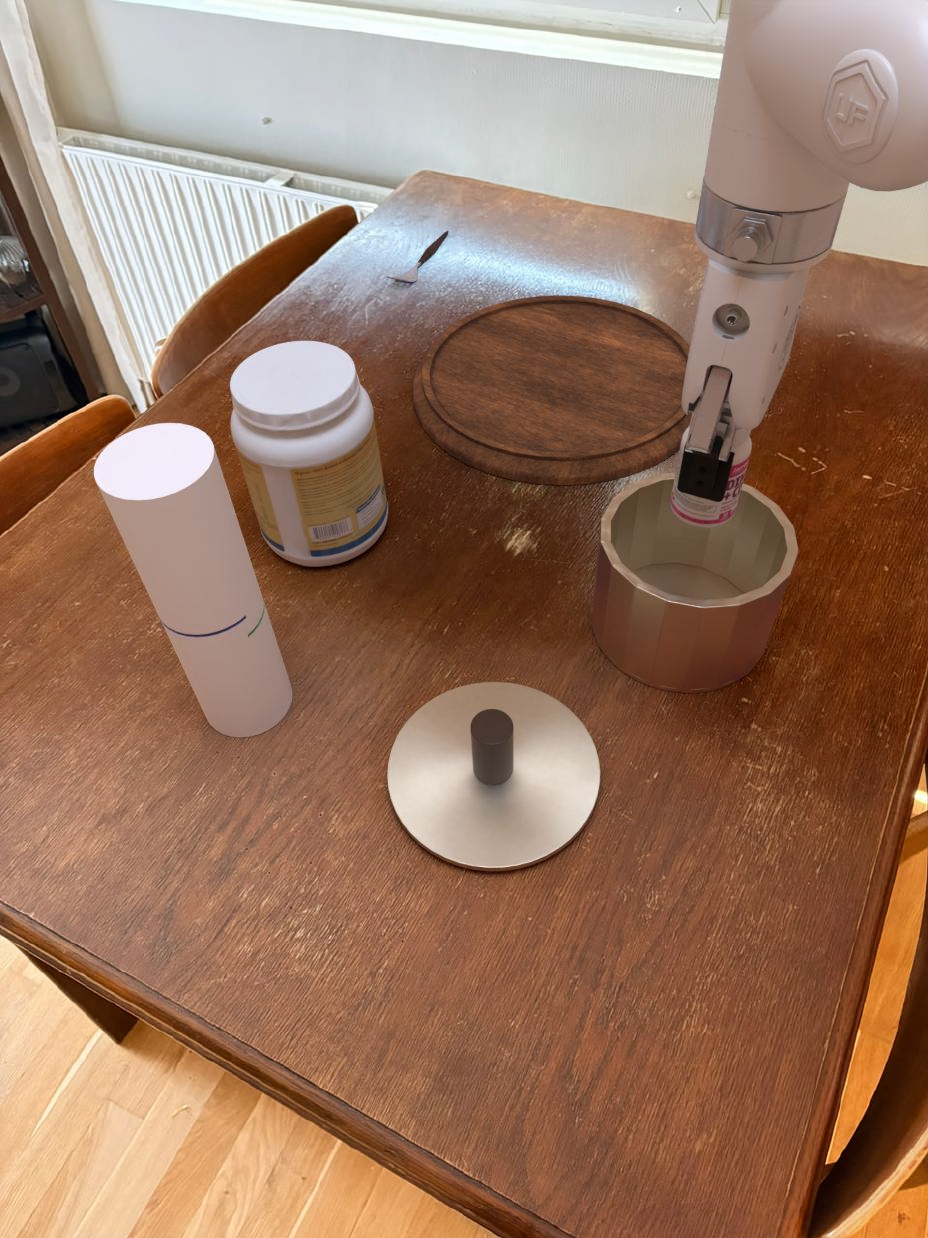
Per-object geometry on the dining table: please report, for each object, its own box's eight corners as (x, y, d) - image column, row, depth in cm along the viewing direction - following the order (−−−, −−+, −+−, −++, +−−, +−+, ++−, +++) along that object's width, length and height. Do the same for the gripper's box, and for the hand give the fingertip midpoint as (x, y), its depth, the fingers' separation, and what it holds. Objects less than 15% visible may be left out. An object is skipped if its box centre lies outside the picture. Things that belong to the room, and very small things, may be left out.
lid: (629, 732, 69) (638, 680, 64) (550, 912, 60) (553, 869, 55) (447, 665, 74) (442, 612, 69) (349, 822, 65) (335, 775, 60)
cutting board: (637, 524, 84) (640, 504, 82) (356, 428, 95) (353, 408, 93) (748, 350, 101) (752, 330, 100) (499, 286, 113) (499, 267, 111)
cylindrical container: (187, 699, 73) (72, 460, 54) (260, 651, 76) (175, 408, 57) (236, 753, 69) (130, 518, 50) (310, 700, 72) (237, 459, 53)
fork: (457, 236, 122) (456, 221, 120) (405, 294, 113) (403, 279, 111) (439, 233, 123) (438, 218, 121) (386, 290, 113) (385, 275, 112)
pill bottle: (729, 536, 64) (753, 441, 58) (663, 521, 65) (679, 428, 59) (740, 493, 67) (764, 399, 60) (676, 480, 68) (693, 386, 62)
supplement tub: (403, 490, 88) (385, 339, 76) (370, 580, 81) (343, 428, 68) (287, 477, 90) (249, 328, 78) (243, 564, 83) (194, 413, 70)
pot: (785, 590, 78) (816, 500, 70) (740, 719, 70) (769, 633, 62) (625, 542, 83) (637, 452, 75) (565, 657, 74) (571, 570, 66)
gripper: (801, 305, 43) (731, 565, 57) (866, 162, 53) (793, 414, 67) (652, 275, 46) (620, 532, 60) (740, 143, 55) (695, 391, 69)
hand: (712, 467), depth 63 cm, fingers closed on pill bottle, 4 cm apart
